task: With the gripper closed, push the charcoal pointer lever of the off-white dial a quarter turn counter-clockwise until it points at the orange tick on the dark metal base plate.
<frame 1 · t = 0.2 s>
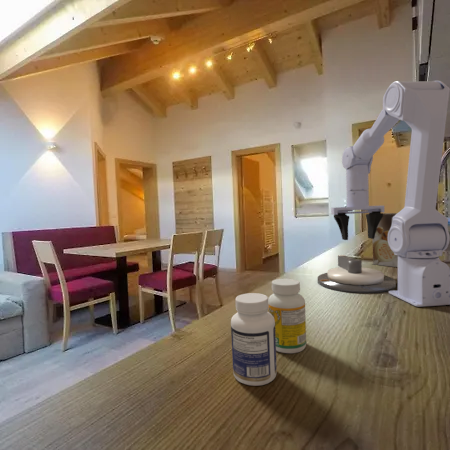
hand: (358, 239, 89), 10 cm above the kitchen counter, fingers open, 7 cm apart
dial: (353, 268, 79), point 4 cm above the kitchen counter, hinge at 0.0°
pill bottle: (254, 376, 39), on the kitchen counter
supplement bottle: (287, 347, 46), on the kitchen counter
dial plate: (354, 282, 78), on the kitchen counter
coffee box: (391, 265, 98), on the kitchen counter
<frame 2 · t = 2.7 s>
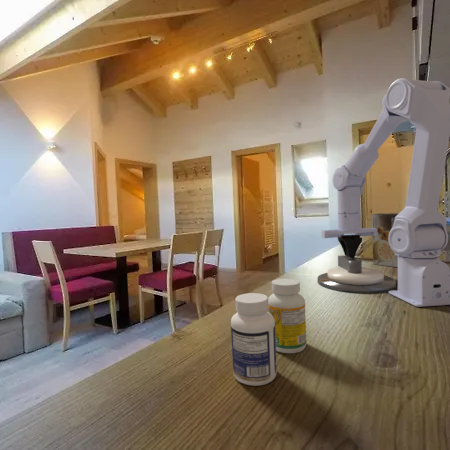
hand: (349, 263, 85), 4 cm above the kitchen counter, fingers closed
dial: (353, 268, 79), point 4 cm above the kitchen counter, hinge at 0.1°, touching gripper
everything else where it was.
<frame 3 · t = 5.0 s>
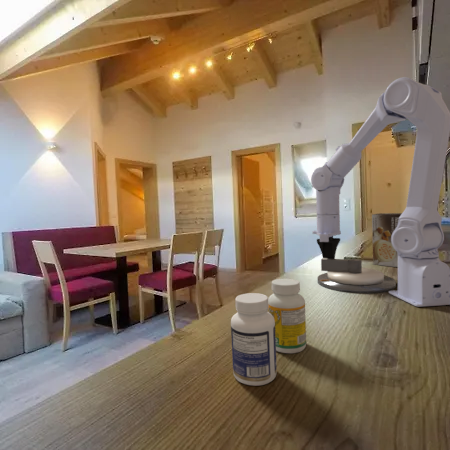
hand: (328, 265, 83), 4 cm above the kitchen counter, fingers closed
dial: (351, 268, 79), point 4 cm above the kitchen counter, hinge at 57.8°, touching gripper
everything else where it was.
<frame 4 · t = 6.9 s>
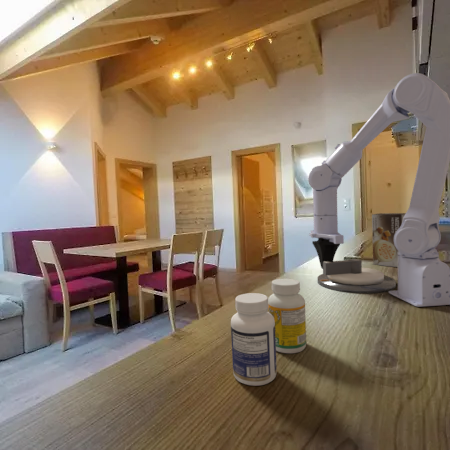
hand: (326, 268, 79), 4 cm above the kitchen counter, fingers closed
dial: (351, 269, 78), point 4 cm above the kitchen counter, hinge at 94.1°, touching gripper
everything else where it was.
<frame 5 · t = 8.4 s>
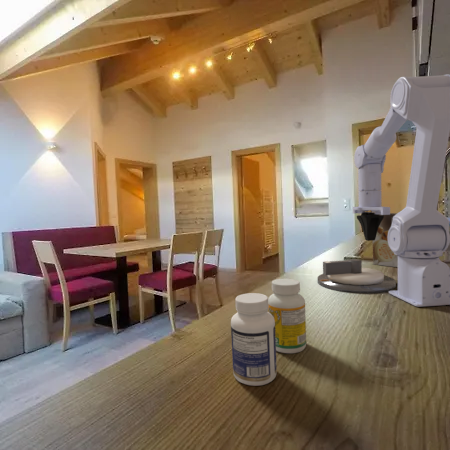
hand: (370, 240, 86), 9 cm above the kitchen counter, fingers closed
dial: (351, 269, 78), point 4 cm above the kitchen counter, hinge at 94.1°
everything else where it was.
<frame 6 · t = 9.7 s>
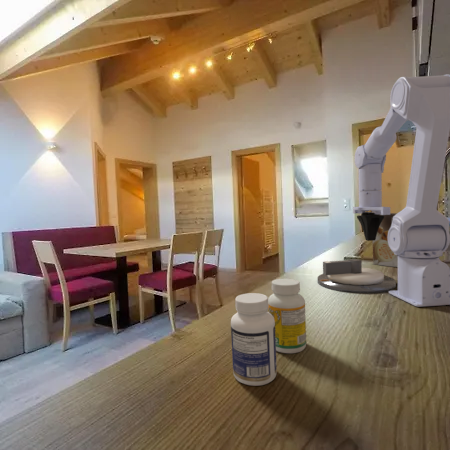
hand: (370, 240, 86), 9 cm above the kitchen counter, fingers closed
nothing on the kitchen counter moved.
at the end: dial at +94° (first picture: +0°) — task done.
